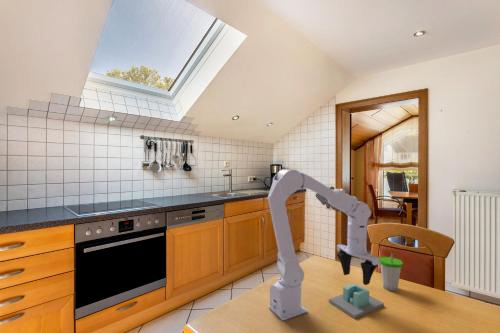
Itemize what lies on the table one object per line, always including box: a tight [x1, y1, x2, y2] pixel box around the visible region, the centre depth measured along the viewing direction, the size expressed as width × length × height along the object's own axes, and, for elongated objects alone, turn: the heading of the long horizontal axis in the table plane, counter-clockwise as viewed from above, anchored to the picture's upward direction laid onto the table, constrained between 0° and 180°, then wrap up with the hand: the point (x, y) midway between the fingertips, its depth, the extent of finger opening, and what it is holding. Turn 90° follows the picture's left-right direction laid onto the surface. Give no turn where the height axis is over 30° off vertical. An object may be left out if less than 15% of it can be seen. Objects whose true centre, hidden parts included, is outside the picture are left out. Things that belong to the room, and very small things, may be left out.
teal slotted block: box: [342, 283, 370, 308], centre depth 82 cm, size 6×6×4 cm
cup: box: [378, 251, 404, 292], centre depth 93 cm, size 8×8×15 cm
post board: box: [328, 292, 385, 320], centre depth 82 cm, size 14×10×4 cm
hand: (356, 278), depth 82 cm, fingers open, 7 cm apart
